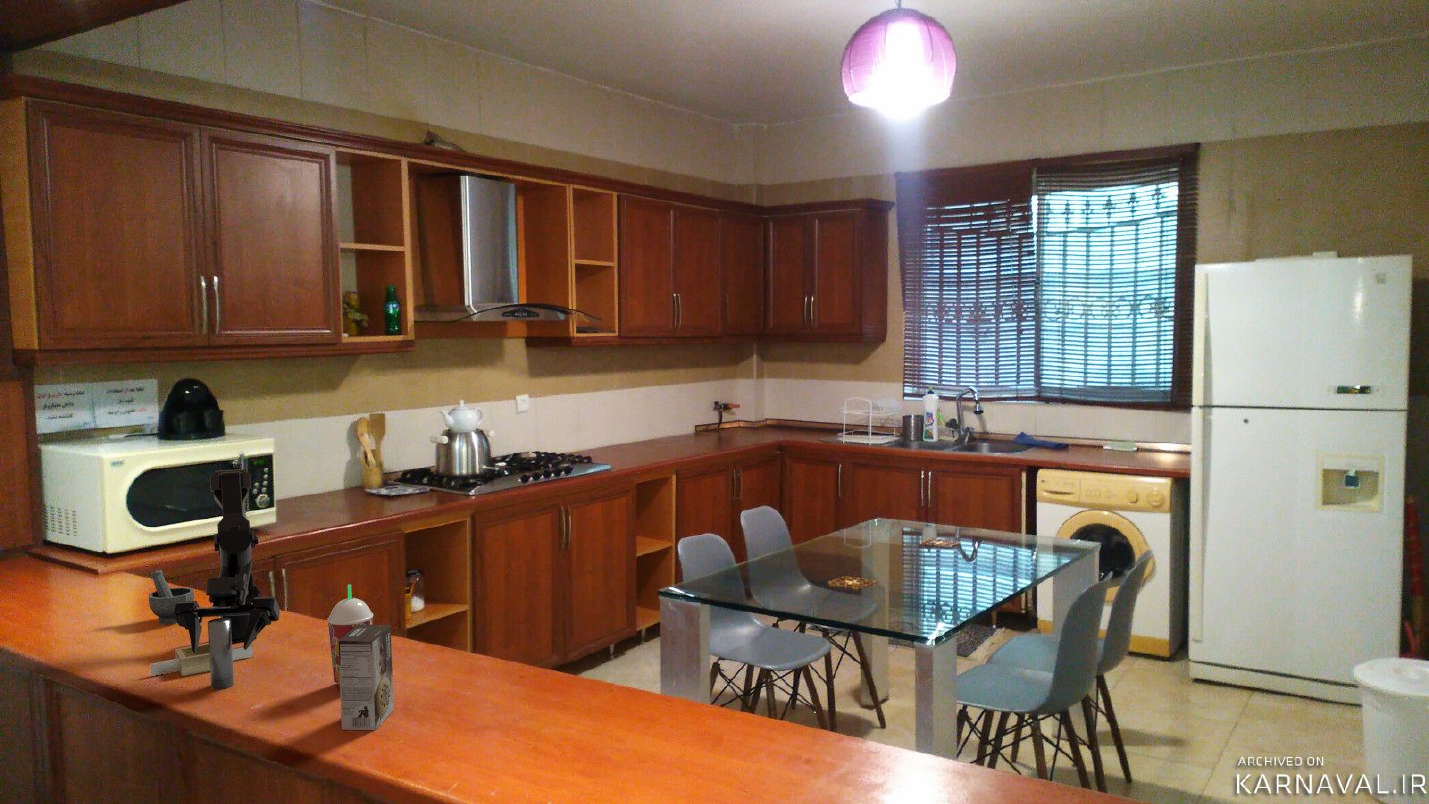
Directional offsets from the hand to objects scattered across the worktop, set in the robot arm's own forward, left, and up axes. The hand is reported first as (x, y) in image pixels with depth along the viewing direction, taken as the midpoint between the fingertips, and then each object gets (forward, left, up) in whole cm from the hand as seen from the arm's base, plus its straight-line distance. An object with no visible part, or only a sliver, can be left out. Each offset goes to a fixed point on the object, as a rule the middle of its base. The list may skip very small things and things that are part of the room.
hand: (219, 650), depth 190 cm
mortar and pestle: (+1, -55, -8) cm, 56 cm away
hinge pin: (0, -1, -7) cm, 7 cm away
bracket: (+1, -15, -7) cm, 17 cm away
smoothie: (-21, +15, -8) cm, 27 cm away
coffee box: (-18, +34, -8) cm, 39 cm away
